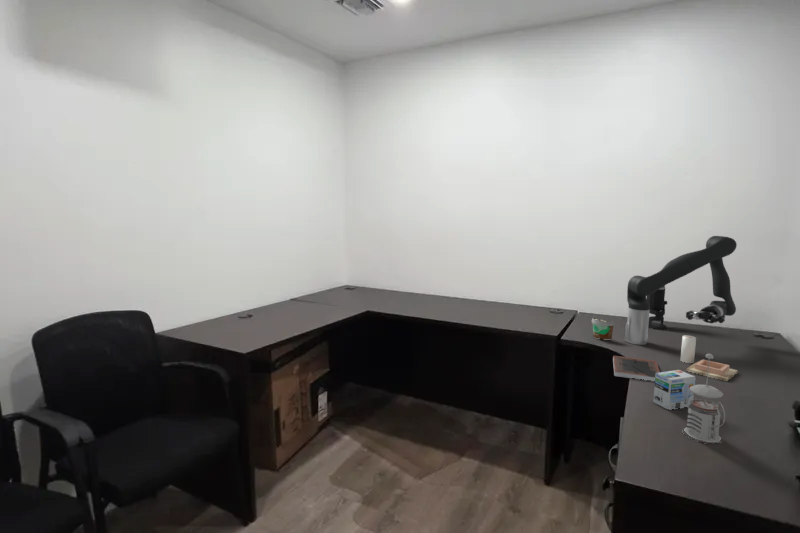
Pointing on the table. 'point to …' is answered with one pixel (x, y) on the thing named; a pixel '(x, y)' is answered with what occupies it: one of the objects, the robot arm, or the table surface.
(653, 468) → the table surface
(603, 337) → the food container
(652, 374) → the picture frame
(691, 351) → the paper roll
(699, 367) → the roll holder
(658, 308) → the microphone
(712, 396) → the french press
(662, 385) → the light bulb box
